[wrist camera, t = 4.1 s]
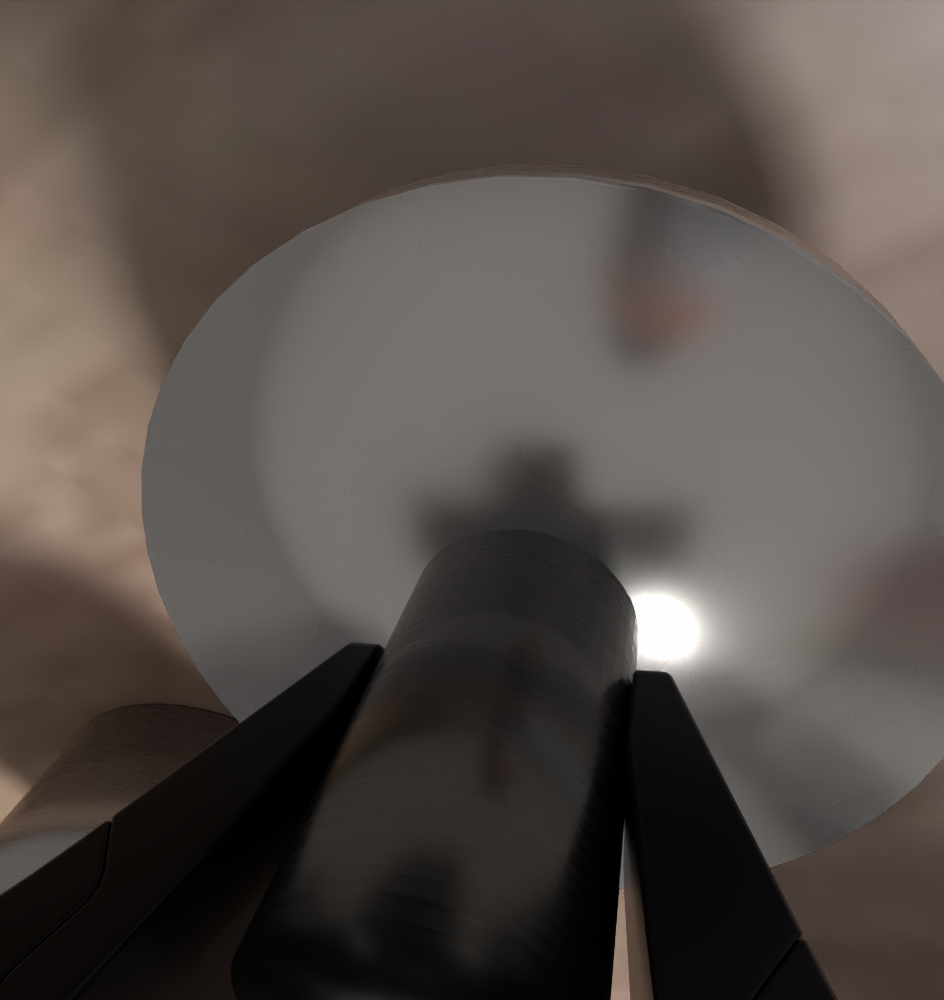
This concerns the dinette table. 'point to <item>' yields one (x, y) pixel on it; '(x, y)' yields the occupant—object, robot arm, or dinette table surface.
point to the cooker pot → (101, 779)
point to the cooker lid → (547, 555)
